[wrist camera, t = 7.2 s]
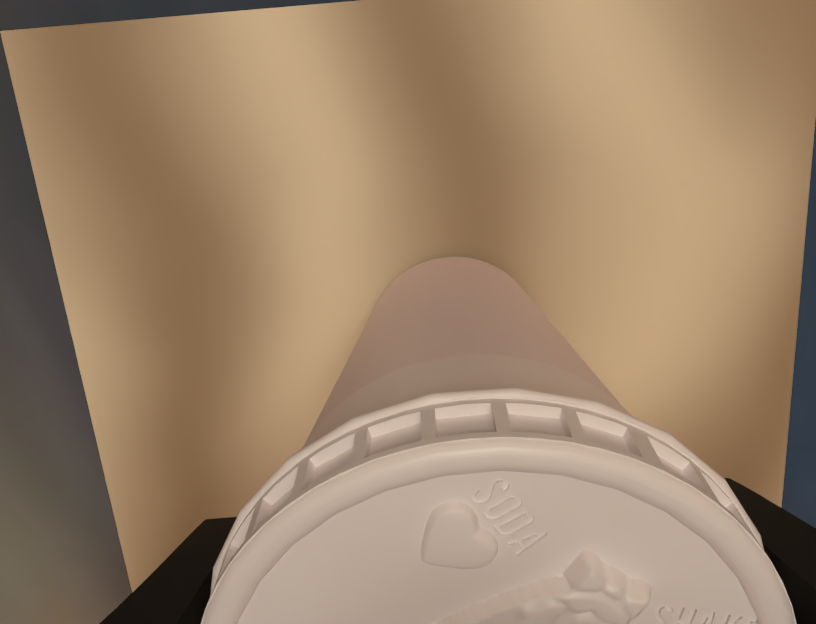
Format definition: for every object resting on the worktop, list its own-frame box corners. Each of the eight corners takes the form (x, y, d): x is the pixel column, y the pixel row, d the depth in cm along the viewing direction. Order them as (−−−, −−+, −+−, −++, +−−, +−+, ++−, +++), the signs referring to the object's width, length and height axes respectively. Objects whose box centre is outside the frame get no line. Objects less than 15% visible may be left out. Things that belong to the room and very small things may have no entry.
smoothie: (255, 374, 17) (-229, 1472, 4) (410, 131, 15) (374, 813, 2) (489, 505, 19) (660, 1674, 6) (660, 296, 17) (1562, 1350, 4)
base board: (169, 642, 21) (153, 684, 20) (34, 33, 16) (-1, 31, 15) (744, 597, 21) (770, 636, 20) (790, -32, 16) (829, -40, 15)
